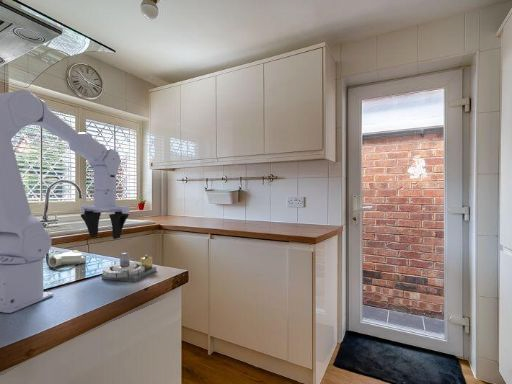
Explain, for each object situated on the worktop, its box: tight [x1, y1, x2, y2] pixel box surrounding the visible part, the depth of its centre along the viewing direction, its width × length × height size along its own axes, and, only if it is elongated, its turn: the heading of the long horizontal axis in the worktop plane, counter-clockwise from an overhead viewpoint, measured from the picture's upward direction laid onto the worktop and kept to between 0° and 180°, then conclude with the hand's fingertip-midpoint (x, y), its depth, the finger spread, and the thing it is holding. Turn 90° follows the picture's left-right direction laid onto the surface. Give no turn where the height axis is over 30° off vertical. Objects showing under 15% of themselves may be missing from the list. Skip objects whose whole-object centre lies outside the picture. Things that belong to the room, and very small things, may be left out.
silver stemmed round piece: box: [113, 252, 137, 271], centre depth 78 cm, size 6×6×5 cm
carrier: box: [101, 254, 157, 283], centre depth 78 cm, size 11×11×5 cm
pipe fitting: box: [48, 249, 86, 268], centre depth 88 cm, size 8×4×7 cm
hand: (105, 237), depth 81 cm, fingers open, 7 cm apart
